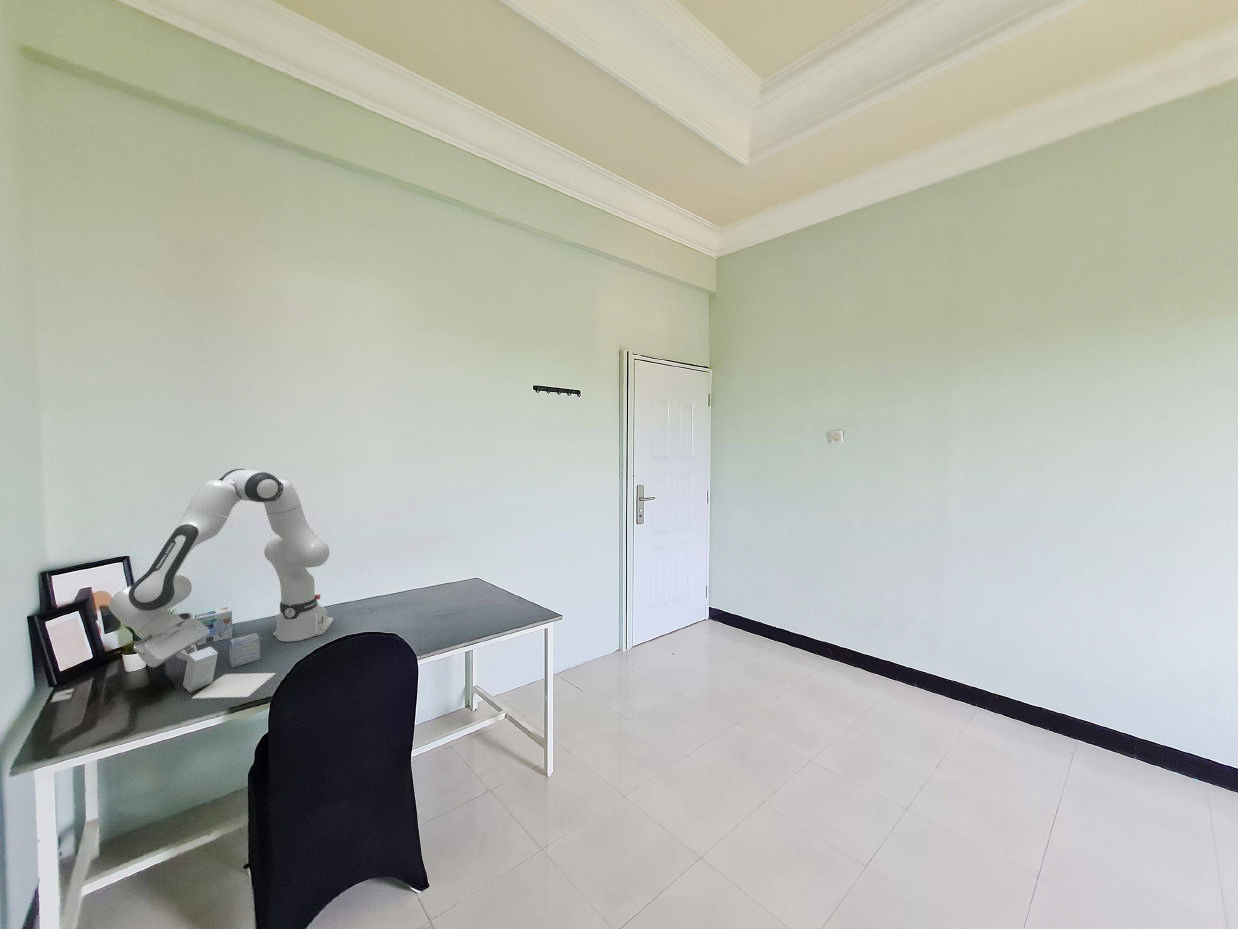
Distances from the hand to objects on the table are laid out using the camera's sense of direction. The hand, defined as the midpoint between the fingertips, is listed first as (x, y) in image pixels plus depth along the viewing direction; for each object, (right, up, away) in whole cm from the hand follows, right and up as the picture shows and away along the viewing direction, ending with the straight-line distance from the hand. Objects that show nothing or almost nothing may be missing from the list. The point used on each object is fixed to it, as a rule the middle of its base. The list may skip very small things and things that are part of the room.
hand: (195, 659), depth 149 cm
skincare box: (0, -8, 0) cm, 8 cm away
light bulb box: (-23, -6, +33) cm, 41 cm away
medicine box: (+2, -8, +17) cm, 19 cm away
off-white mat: (+11, -9, +2) cm, 15 cm away
